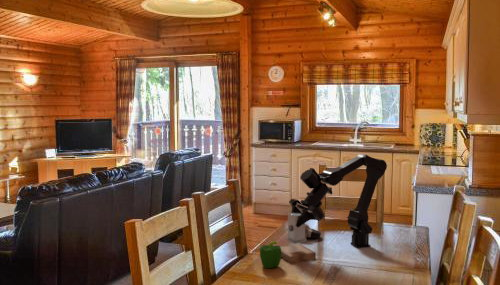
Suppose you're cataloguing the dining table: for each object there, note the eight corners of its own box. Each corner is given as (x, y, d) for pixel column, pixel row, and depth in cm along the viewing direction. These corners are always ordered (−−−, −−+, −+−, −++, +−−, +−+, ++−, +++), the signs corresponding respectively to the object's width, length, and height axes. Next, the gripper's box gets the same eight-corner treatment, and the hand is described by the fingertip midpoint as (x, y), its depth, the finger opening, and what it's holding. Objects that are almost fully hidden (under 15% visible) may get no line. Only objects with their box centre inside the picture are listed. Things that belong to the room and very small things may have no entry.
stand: (300, 249, 209) (300, 243, 209) (315, 258, 198) (315, 252, 198) (275, 253, 204) (275, 247, 204) (289, 262, 193) (289, 256, 193)
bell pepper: (255, 267, 188) (255, 242, 187) (266, 261, 195) (266, 236, 194) (273, 272, 184) (274, 246, 182) (285, 265, 190) (285, 240, 189)
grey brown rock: (320, 241, 229) (315, 244, 220) (297, 234, 233) (291, 236, 224) (323, 227, 229) (318, 230, 220) (301, 220, 233) (295, 222, 224)
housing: (298, 237, 204) (298, 211, 203) (306, 241, 199) (306, 214, 197) (286, 239, 201) (286, 213, 200) (294, 243, 196) (294, 216, 195)
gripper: (341, 212, 197) (318, 243, 193) (314, 203, 214) (293, 231, 210) (325, 195, 193) (301, 226, 189) (299, 187, 209) (277, 215, 206)
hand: (293, 225), depth 199 cm, fingers closed on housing, 5 cm apart
